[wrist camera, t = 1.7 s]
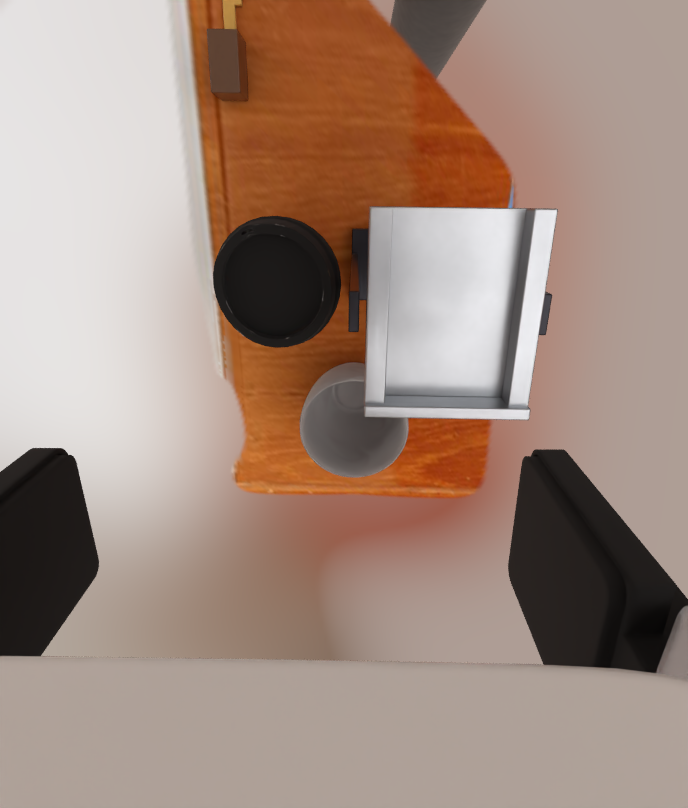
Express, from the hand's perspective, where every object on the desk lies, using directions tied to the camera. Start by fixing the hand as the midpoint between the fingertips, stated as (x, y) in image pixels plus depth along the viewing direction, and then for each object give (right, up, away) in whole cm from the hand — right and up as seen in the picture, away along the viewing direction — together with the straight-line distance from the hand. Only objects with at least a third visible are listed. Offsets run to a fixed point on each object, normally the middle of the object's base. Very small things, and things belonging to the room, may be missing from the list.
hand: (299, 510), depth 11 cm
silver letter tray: (+6, +7, +14) cm, 17 cm away
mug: (+3, +4, +39) cm, 39 cm away
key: (-8, +30, +29) cm, 43 cm away
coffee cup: (-3, +15, +35) cm, 38 cm away
